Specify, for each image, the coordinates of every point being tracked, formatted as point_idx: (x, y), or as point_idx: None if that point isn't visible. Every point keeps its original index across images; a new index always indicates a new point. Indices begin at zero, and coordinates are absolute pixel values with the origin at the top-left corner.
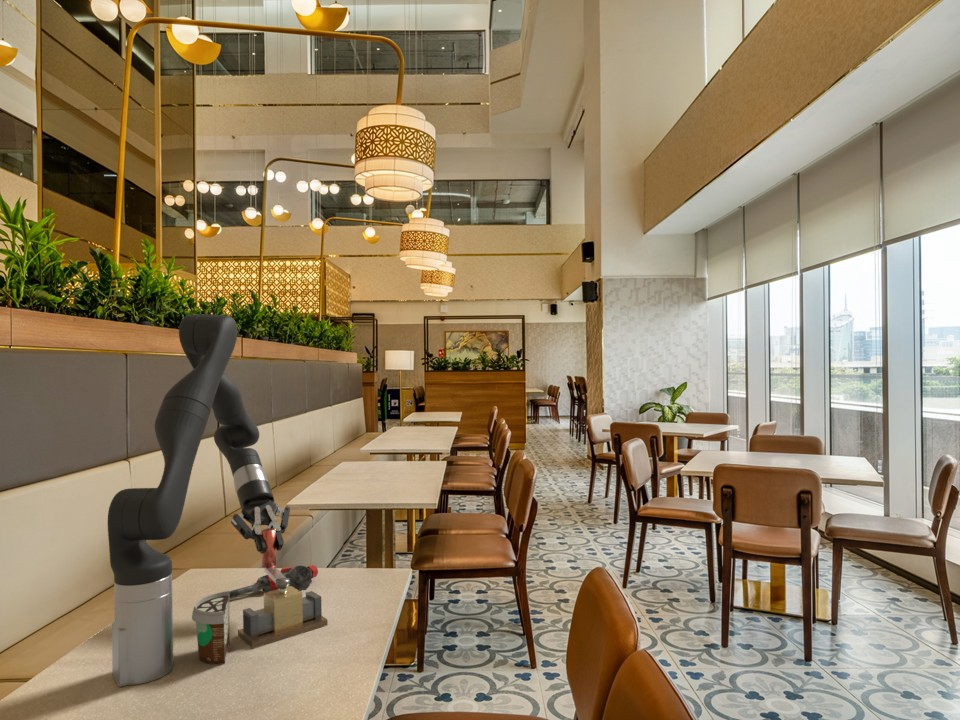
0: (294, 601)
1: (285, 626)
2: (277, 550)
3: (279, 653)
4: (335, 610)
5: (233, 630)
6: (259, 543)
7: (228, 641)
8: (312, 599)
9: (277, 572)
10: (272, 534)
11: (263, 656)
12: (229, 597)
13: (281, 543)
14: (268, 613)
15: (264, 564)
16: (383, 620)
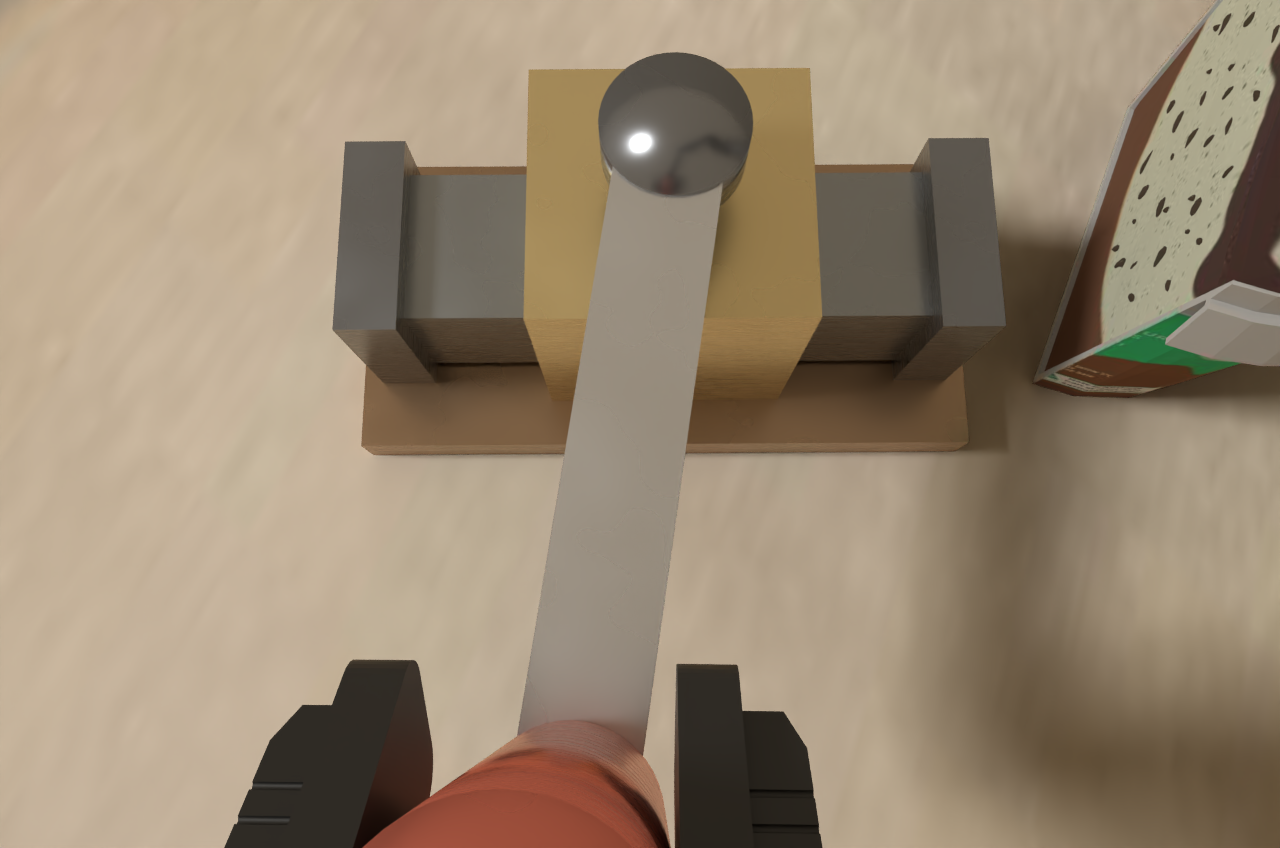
0: None
1: None
2: (432, 753)
3: (818, 16)
4: (195, 393)
5: (953, 580)
6: (776, 807)
7: (1053, 352)
8: (408, 206)
9: (605, 434)
10: (475, 778)
11: (909, 42)
12: (1181, 330)
13: (353, 679)
14: (824, 178)
15: (653, 778)
16: (74, 3)
